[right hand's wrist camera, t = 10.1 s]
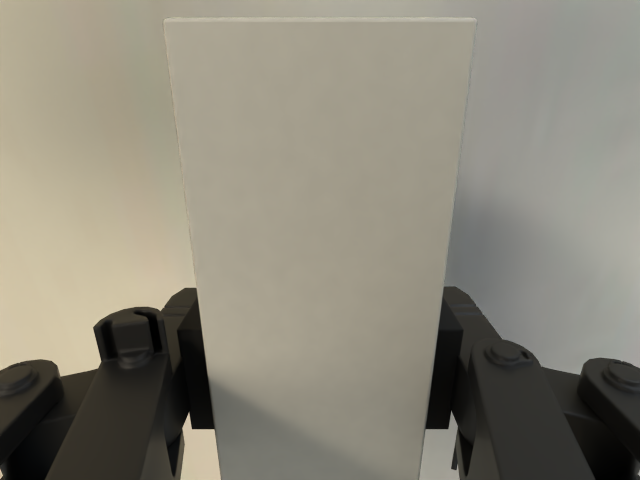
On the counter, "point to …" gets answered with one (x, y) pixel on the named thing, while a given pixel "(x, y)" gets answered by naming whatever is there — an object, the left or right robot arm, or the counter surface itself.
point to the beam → (320, 230)
